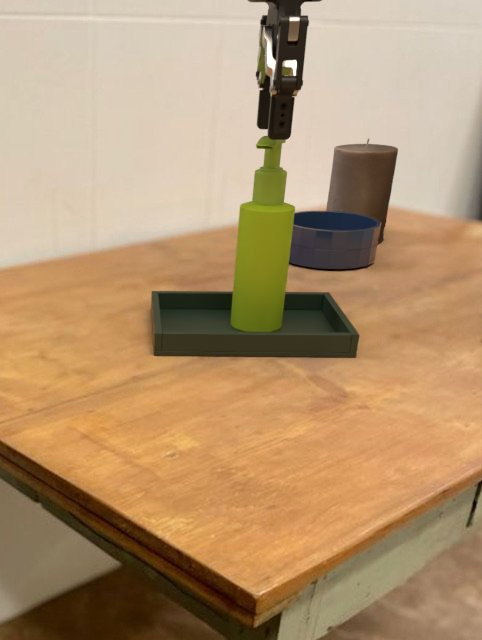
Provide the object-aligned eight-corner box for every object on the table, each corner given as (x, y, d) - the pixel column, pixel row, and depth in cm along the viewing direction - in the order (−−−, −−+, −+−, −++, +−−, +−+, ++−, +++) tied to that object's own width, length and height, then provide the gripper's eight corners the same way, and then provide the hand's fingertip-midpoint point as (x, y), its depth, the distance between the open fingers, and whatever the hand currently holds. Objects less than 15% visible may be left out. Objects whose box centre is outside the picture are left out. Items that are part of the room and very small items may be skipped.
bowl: (361, 247, 128) (367, 210, 125) (385, 271, 116) (392, 231, 113) (271, 246, 128) (274, 210, 125) (285, 270, 116) (290, 231, 113)
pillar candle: (395, 242, 131) (414, 140, 123) (347, 248, 128) (363, 144, 120) (356, 229, 139) (371, 133, 131) (309, 235, 135) (322, 136, 127)
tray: (326, 312, 100) (329, 292, 99) (356, 357, 87) (359, 334, 86) (150, 310, 101) (151, 290, 99) (153, 355, 87) (154, 333, 86)
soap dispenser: (221, 331, 92) (236, 138, 82) (237, 314, 98) (253, 131, 87) (273, 338, 90) (295, 141, 80) (286, 320, 96) (308, 133, 85)
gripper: (348, -65, 69) (322, 143, 78) (316, -54, 81) (297, 125, 90) (259, -64, 69) (243, 143, 78) (241, -54, 81) (229, 125, 90)
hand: (272, 133), depth 84 cm, fingers open, 8 cm apart
